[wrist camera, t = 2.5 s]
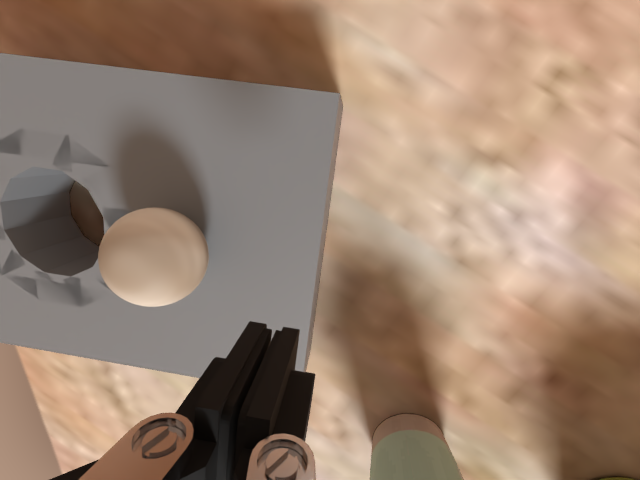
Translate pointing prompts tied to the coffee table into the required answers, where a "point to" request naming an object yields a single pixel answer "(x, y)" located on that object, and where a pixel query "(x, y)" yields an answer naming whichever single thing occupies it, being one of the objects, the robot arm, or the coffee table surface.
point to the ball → (153, 257)
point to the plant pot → (617, 478)
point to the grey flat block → (160, 206)
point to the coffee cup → (411, 451)
